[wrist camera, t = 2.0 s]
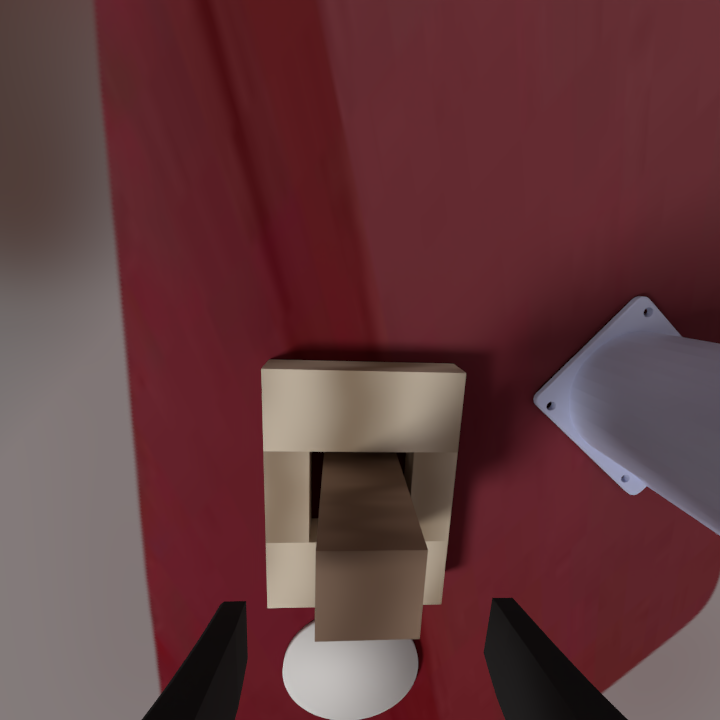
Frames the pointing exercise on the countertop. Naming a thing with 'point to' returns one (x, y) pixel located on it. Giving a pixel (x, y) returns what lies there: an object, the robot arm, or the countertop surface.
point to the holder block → (354, 434)
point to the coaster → (348, 674)
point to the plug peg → (367, 551)
